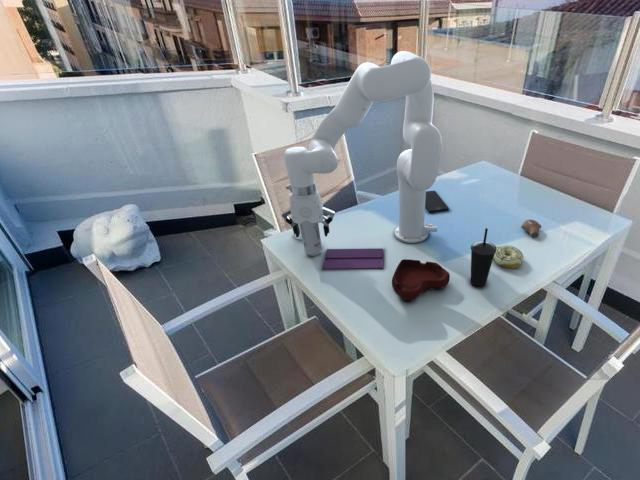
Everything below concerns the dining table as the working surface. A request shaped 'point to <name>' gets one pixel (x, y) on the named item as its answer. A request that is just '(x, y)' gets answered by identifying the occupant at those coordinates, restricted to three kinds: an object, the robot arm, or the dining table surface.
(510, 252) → the decorated donut
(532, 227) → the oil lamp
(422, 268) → the ashtray
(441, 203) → the cell phone
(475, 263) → the drinking cup
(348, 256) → the napkin
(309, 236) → the energy drink can
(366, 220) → the dining table surface
